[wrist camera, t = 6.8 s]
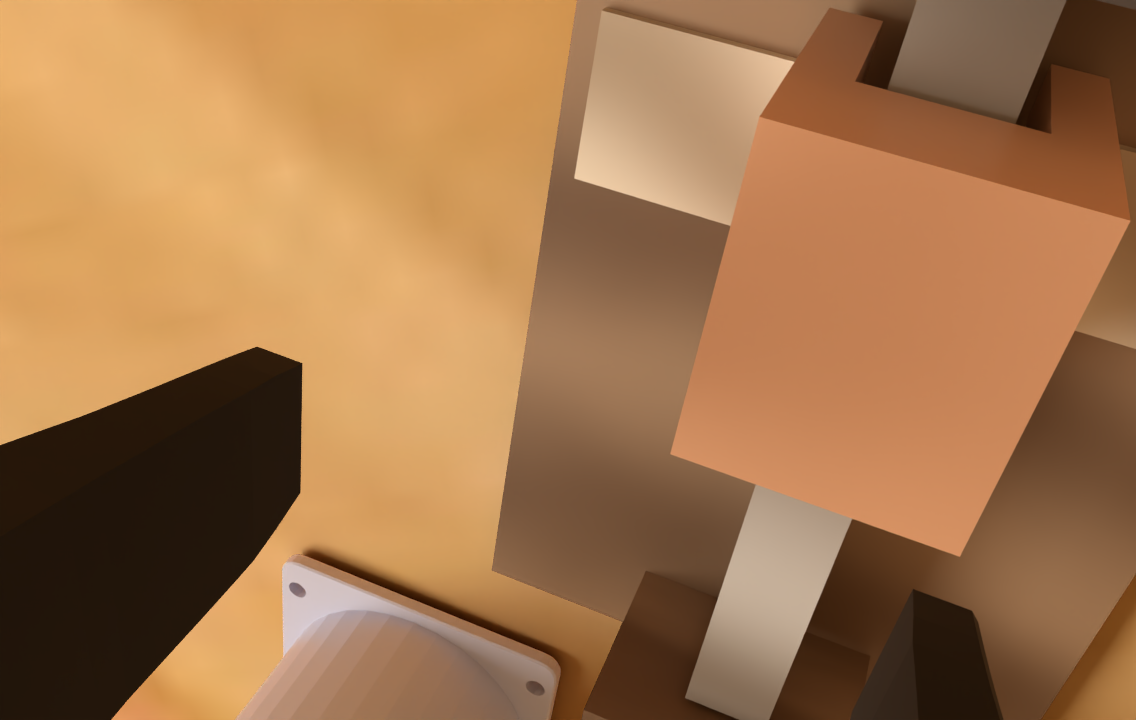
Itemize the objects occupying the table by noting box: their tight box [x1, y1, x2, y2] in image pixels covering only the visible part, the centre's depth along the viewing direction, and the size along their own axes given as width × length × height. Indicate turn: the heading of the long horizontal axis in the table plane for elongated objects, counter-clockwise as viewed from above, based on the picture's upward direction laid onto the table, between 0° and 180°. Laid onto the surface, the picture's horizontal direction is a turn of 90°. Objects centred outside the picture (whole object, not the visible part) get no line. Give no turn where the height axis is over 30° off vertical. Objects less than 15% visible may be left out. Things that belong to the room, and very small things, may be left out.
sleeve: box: [670, 8, 1131, 557], centre depth 15 cm, size 5×4×5 cm
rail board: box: [492, 0, 1136, 720], centre depth 18 cm, size 18×12×5 cm, turn 171°
